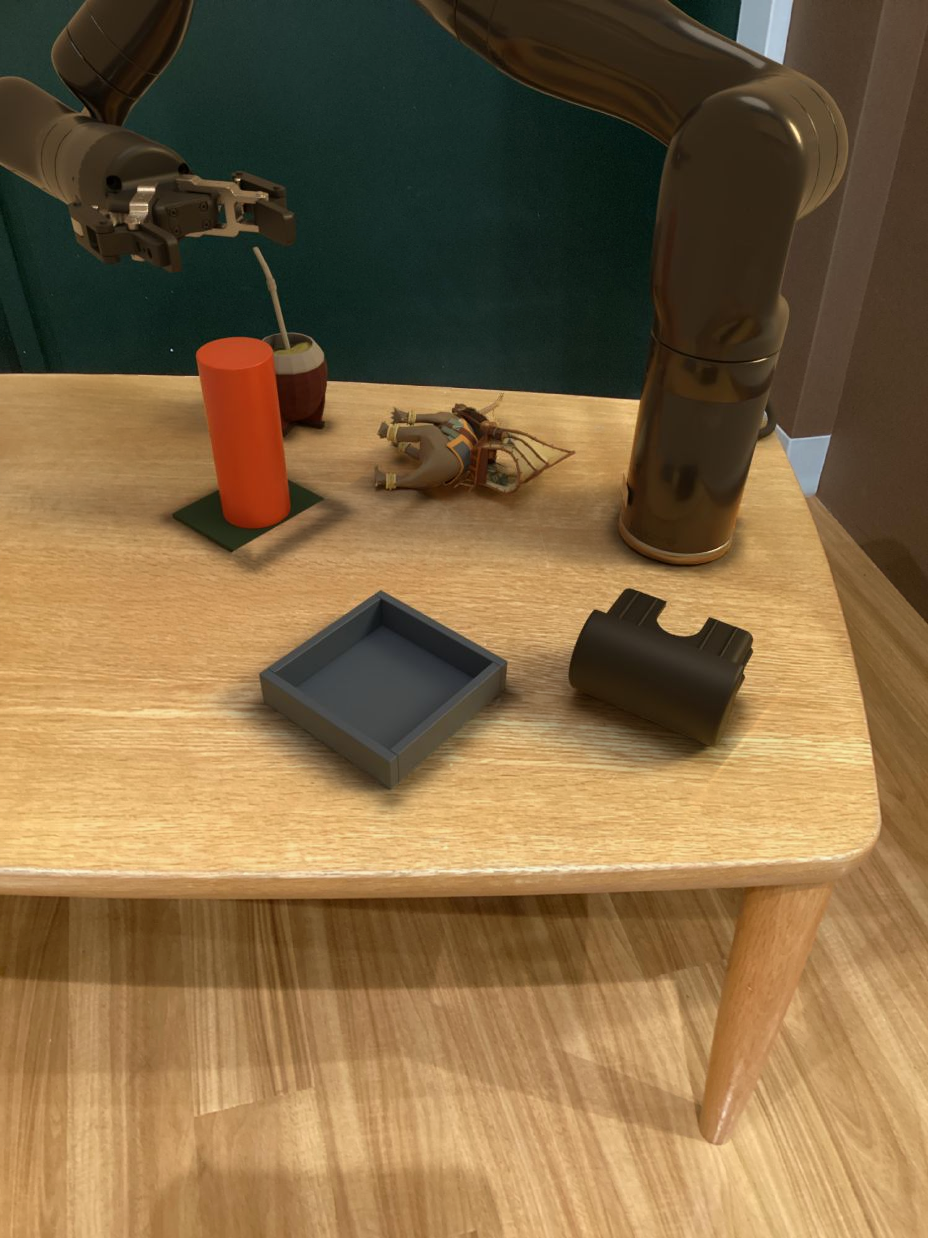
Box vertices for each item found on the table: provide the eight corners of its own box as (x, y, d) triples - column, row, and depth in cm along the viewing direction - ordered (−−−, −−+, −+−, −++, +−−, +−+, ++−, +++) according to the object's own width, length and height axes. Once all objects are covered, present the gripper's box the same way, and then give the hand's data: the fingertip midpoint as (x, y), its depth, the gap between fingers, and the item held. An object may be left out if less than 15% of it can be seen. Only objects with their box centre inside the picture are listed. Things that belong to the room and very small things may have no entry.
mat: (263, 470, 83) (263, 466, 83) (342, 511, 78) (342, 507, 78) (172, 517, 77) (171, 513, 77) (252, 565, 72) (251, 560, 72)
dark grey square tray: (382, 621, 68) (380, 589, 66) (505, 693, 62) (507, 660, 60) (263, 706, 61) (258, 673, 59) (390, 795, 56) (389, 762, 54)
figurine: (412, 362, 89) (587, 384, 86) (411, 421, 92) (579, 443, 90) (351, 455, 73) (563, 485, 71) (353, 521, 76) (555, 551, 74)
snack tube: (260, 484, 81) (239, 330, 71) (304, 508, 78) (288, 351, 69) (209, 511, 77) (179, 353, 68) (253, 537, 75) (229, 376, 65)
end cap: (561, 711, 61) (571, 634, 57) (605, 650, 66) (618, 575, 61) (705, 773, 57) (728, 697, 53) (741, 704, 62) (765, 628, 58)
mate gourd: (312, 445, 87) (297, 286, 77) (237, 430, 88) (213, 273, 79) (344, 409, 92) (334, 257, 82) (272, 396, 94) (254, 245, 84)
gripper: (17, 145, 64) (120, 202, 55) (202, 117, 71) (320, 163, 62) (46, 255, 69) (146, 324, 60) (217, 218, 76) (329, 275, 67)
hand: (234, 242), depth 61 cm, fingers open, 8 cm apart
